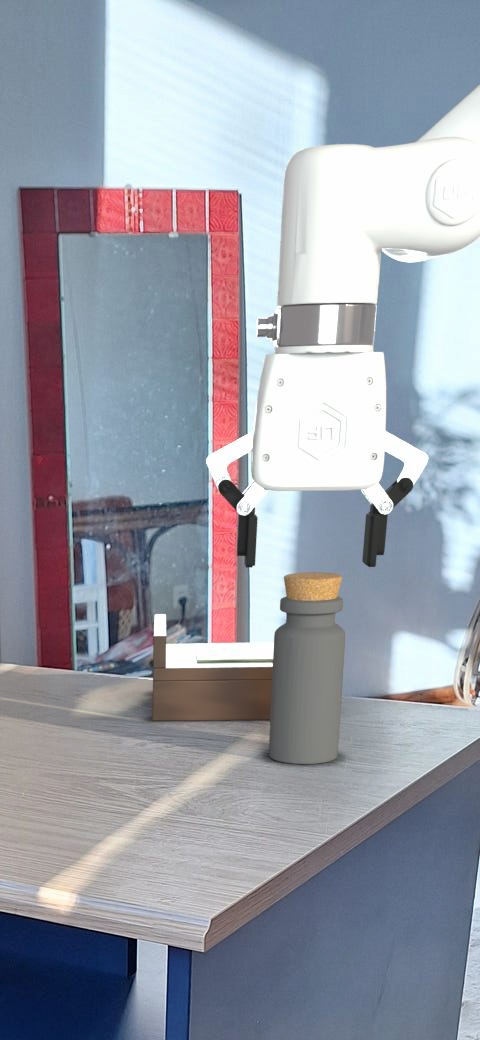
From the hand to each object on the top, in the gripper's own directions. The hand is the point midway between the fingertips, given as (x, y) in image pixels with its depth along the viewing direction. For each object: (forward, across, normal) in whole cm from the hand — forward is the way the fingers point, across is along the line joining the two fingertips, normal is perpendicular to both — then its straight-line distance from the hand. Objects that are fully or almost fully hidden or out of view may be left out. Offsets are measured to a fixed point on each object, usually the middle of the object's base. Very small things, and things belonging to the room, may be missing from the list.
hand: (308, 565), depth 120 cm
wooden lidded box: (+16, -4, +22) cm, 28 cm away
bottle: (+16, +1, 0) cm, 16 cm away
